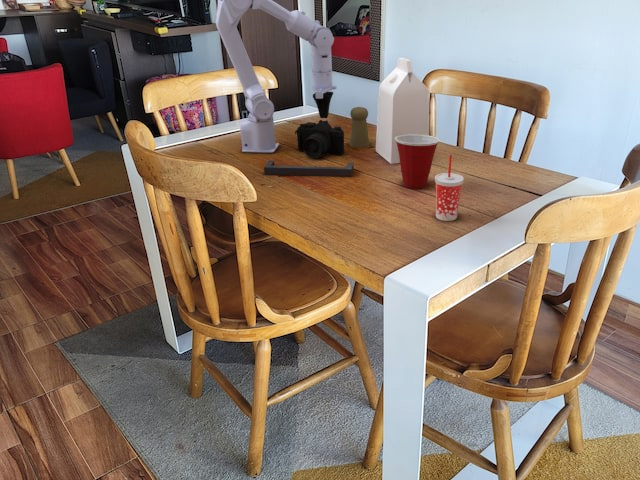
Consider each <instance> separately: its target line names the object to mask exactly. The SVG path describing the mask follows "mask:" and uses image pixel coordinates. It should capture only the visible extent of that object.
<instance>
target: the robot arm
mask: <svg viewBox="0 0 640 480" xmlns="http://www.w3.org/2000/svg"><path fill="white" fill-rule="evenodd" d="M249 9H251V10H261V11H263V12H265V13H267V14H268V15H270V16H272V17H274V18H275V19H278V20H279V21H281V22H283V23H284V24H285V27H286V30H287V31H289V32H290V33H292V34H293V35H295V36H297V37H299V38H300V39H302V40H304V41H306V42H308V43H309V44H310V48H311V49H310V50H311V53H310V54H311V55H310V56H311V74H312V76H311V77H312V86H311V89H312V91H313V92H314V93H313V94H312V98H313V100H314V102H315V104H316V107H317V111H318V115H319V118H320V119H328V117H329V112H330V107H331V106H330V105H331V100H332V98H333V95H334V92H333V90H337V85H333V65H332V64H333V62H332V61H333V60H332V58H333V57H332V46H333V44H334V41H335V37H334V35H333V32H332V30H331V29H330V28H328V27H327V26H323V25H321V24H320V23H321V22H320V21H319V20H317V19H316V20H314V19H313V18H311V17H309V16H307V15H306V12H305V11H304V10H302V9H300V10H297V9H295V10H292V11H289V10H288V9H287V8H286V7H283V6H282V5H280V4H278V3H277V2H276V1H274V0H217V8H216V16H215V17H216V18H215V26H216V28H217V31H218V33H219V36H220V38H221V40H222V43H223V45H224V48H225V50H226V52H227V54H228V57H229V59H230V61H231V64H232V66H233V68H234V70H235V74H236V75H237V78H238V79H239V83H240V85H241V87H242V92H243V96H244V98H245V100H244V101H245V102H244V104H245V108H246V109H247V111H248V112H249V114H248V116H247V117H246V118H242V119H241V120H240V123H239V124H240V126H239V130H240V131H239V132H240V140H241V147H242V148H241V149H242V150H241V152H242V153H262V154H263V153H269V154H273V153H275V152H276V150H277V149H278V147H279V146H280V143H279V142H276V135H275V134H276V133H275V123H274V116H273V115H274V114H275V105H274V103H273V101H271V100H270V99H269V98H268V97H267V95H266V92H265V90H264V88H263V87H262V85H261V83H260V81H259V79H258V77H257V73H256V71H255V69H254V66H253V64H252V62H251V59H250V57H249V55H248V52H247V49H246V47H245V44H244V42H243V40H242V36H241V35H240V32H239V30H238V24H239V23H240V20H241V18H242V16H243V15H244V14H245V13H246V12H247V11H248V10H249Z"/></svg>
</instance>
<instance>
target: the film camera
mask: <svg viewBox="0 0 640 480" xmlns="http://www.w3.org/2000/svg"><path fill="white" fill-rule="evenodd" d="M294 135H295V136H296V140H297V149H298V151H300V152H304V153H305V155H306V156H307V157H309V158H310V159H317V158H321V157H323V156H326V155H332V156H343V155H344V154H345V150H346V149H345V132H344V130H343V129H342V127H341V126H340V125H339V126H335V127H332V125H331V124H330V123H329V120H327V119H326V120H322V119H319V121H318V122H311V121H307V122H306V123H300V124H299V125H298V126H297V129H296V130H294Z"/></svg>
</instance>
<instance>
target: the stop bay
mask: <svg viewBox="0 0 640 480" xmlns="http://www.w3.org/2000/svg"><path fill="white" fill-rule="evenodd" d="M354 164H355V163H354V161H353V162H351V161H348V162H347V164H346V166H306V165H304V166H303V165H301V166H300V165H275V160H271V159H270V160H268V161H267V162H266V163H265V165H264V167H263V170H264V171H263V172H264V175H272V176H273V175H274V176H279V175H280V176H310V177H311V176H315V177H352V176H353V173H354V169H355V165H354Z"/></svg>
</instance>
